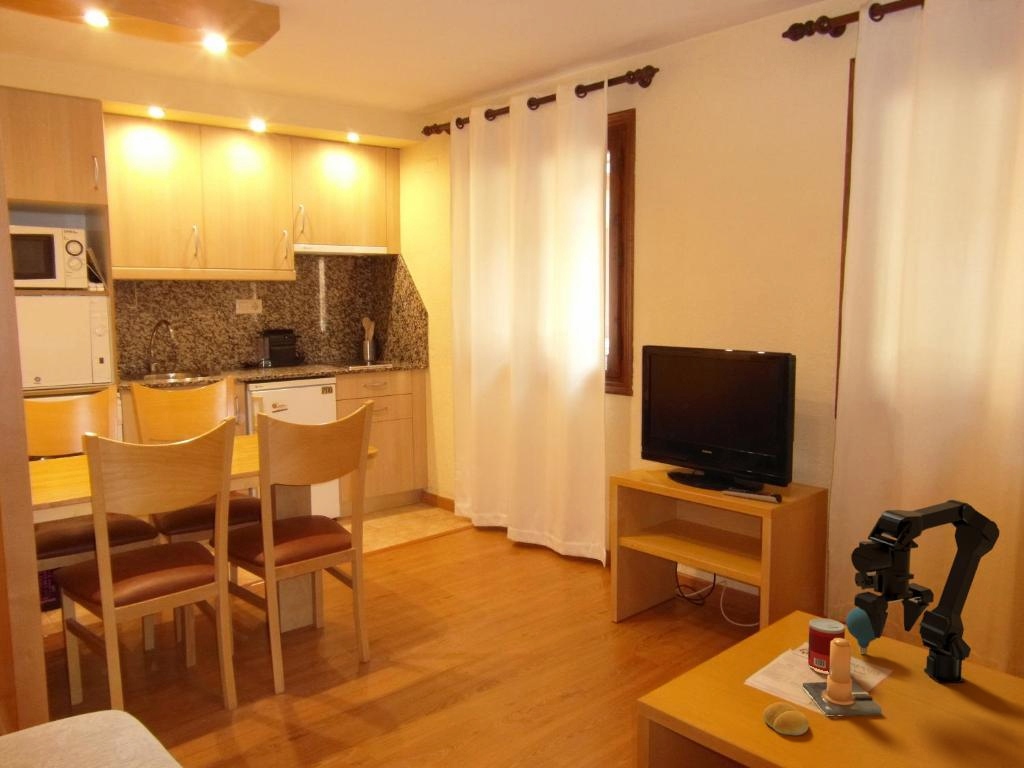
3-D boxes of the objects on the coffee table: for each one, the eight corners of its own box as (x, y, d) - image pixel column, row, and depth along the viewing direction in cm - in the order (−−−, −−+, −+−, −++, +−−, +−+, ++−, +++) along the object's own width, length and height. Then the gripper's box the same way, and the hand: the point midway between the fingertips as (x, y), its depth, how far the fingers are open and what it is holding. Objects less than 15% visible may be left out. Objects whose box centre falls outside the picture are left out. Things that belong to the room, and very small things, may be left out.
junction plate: (853, 687, 177) (854, 679, 177) (881, 714, 165) (881, 706, 165) (802, 689, 176) (802, 681, 176) (826, 716, 164) (826, 708, 164)
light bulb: (837, 650, 196) (839, 604, 195) (861, 644, 200) (863, 599, 199) (864, 663, 189) (866, 616, 188) (889, 657, 192) (891, 611, 191)
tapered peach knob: (849, 692, 171) (851, 637, 170) (852, 703, 166) (855, 647, 165) (825, 689, 172) (827, 635, 171) (828, 700, 168) (830, 644, 166)
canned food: (848, 675, 183) (850, 631, 182) (814, 675, 183) (816, 630, 182) (835, 661, 190) (837, 618, 189) (803, 660, 191) (804, 617, 189)
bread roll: (785, 740, 155) (786, 722, 155) (757, 719, 164) (757, 701, 163) (818, 732, 158) (819, 714, 158) (788, 711, 167) (788, 694, 166)
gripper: (895, 552, 185) (892, 615, 186) (836, 562, 177) (833, 627, 179) (936, 566, 174) (933, 632, 176) (876, 577, 167) (873, 646, 168)
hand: (892, 634), depth 175 cm, fingers open, 9 cm apart
